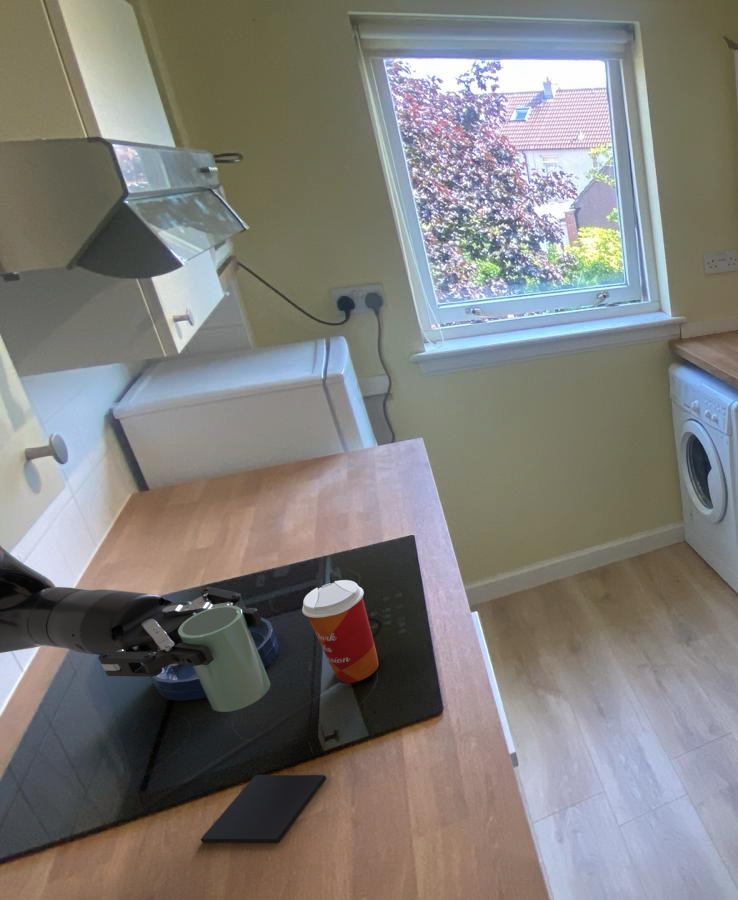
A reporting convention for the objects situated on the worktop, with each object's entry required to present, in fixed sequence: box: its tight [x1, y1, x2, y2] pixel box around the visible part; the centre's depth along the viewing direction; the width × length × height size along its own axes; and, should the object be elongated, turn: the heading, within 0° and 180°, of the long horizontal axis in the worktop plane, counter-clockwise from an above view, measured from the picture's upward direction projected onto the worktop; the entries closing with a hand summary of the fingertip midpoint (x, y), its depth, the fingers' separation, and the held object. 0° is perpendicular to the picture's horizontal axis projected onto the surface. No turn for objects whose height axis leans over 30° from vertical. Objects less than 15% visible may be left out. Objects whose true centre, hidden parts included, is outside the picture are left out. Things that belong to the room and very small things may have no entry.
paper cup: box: [301, 579, 379, 684], centre depth 107 cm, size 8×8×14 cm
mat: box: [200, 774, 327, 844], centre depth 88 cm, size 9×9×1 cm
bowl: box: [150, 616, 280, 702], centre depth 111 cm, size 15×15×4 cm
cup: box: [178, 605, 271, 713], centre depth 87 cm, size 6×6×11 cm
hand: (234, 636), depth 85 cm, fingers closed on cup, 6 cm apart
